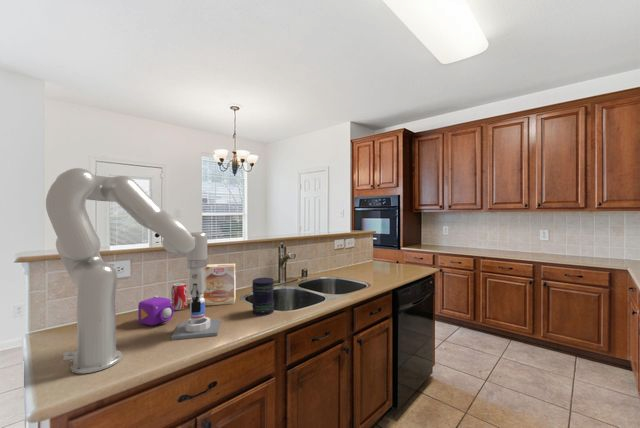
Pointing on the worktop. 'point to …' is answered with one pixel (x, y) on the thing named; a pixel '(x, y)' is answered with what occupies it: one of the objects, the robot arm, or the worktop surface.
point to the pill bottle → (202, 313)
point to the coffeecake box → (220, 284)
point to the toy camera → (155, 311)
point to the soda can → (179, 296)
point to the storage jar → (263, 296)
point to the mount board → (196, 328)
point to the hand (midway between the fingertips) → (197, 308)
